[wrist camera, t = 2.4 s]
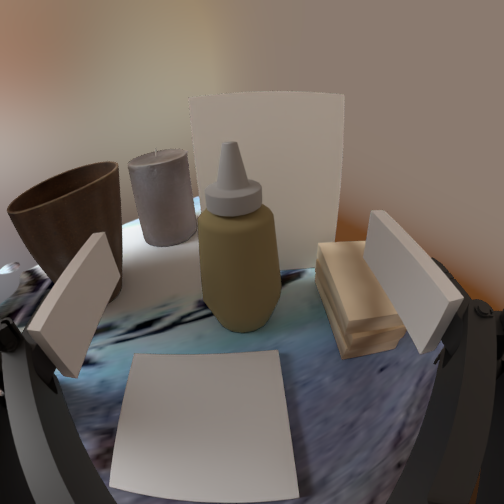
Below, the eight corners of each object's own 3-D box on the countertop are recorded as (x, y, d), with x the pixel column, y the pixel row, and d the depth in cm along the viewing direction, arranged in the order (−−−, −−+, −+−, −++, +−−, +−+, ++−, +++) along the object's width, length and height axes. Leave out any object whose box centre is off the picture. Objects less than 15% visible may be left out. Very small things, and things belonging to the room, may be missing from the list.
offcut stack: (338, 362, 23) (351, 326, 20) (311, 279, 34) (314, 243, 31) (397, 350, 23) (416, 313, 20) (358, 275, 34) (366, 239, 31)
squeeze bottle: (242, 355, 25) (221, 160, 15) (192, 314, 29) (158, 150, 20) (295, 311, 29) (304, 140, 19) (244, 280, 34) (234, 132, 24)
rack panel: (211, 275, 35) (188, 97, 23) (211, 268, 37) (190, 97, 24) (331, 266, 36) (344, 94, 24) (327, 259, 37) (339, 94, 25)
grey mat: (114, 488, 12) (109, 486, 12) (137, 358, 24) (134, 353, 24) (297, 498, 13) (299, 497, 12) (277, 355, 24) (278, 349, 24)
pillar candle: (142, 227, 48) (125, 151, 40) (191, 214, 51) (180, 138, 43) (147, 254, 41) (124, 162, 32) (205, 237, 44) (193, 146, 35)
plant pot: (91, 257, 40) (63, 168, 31) (164, 263, 38) (141, 154, 29) (39, 317, 28) (-11, 215, 19) (115, 342, 26) (54, 208, 17)
